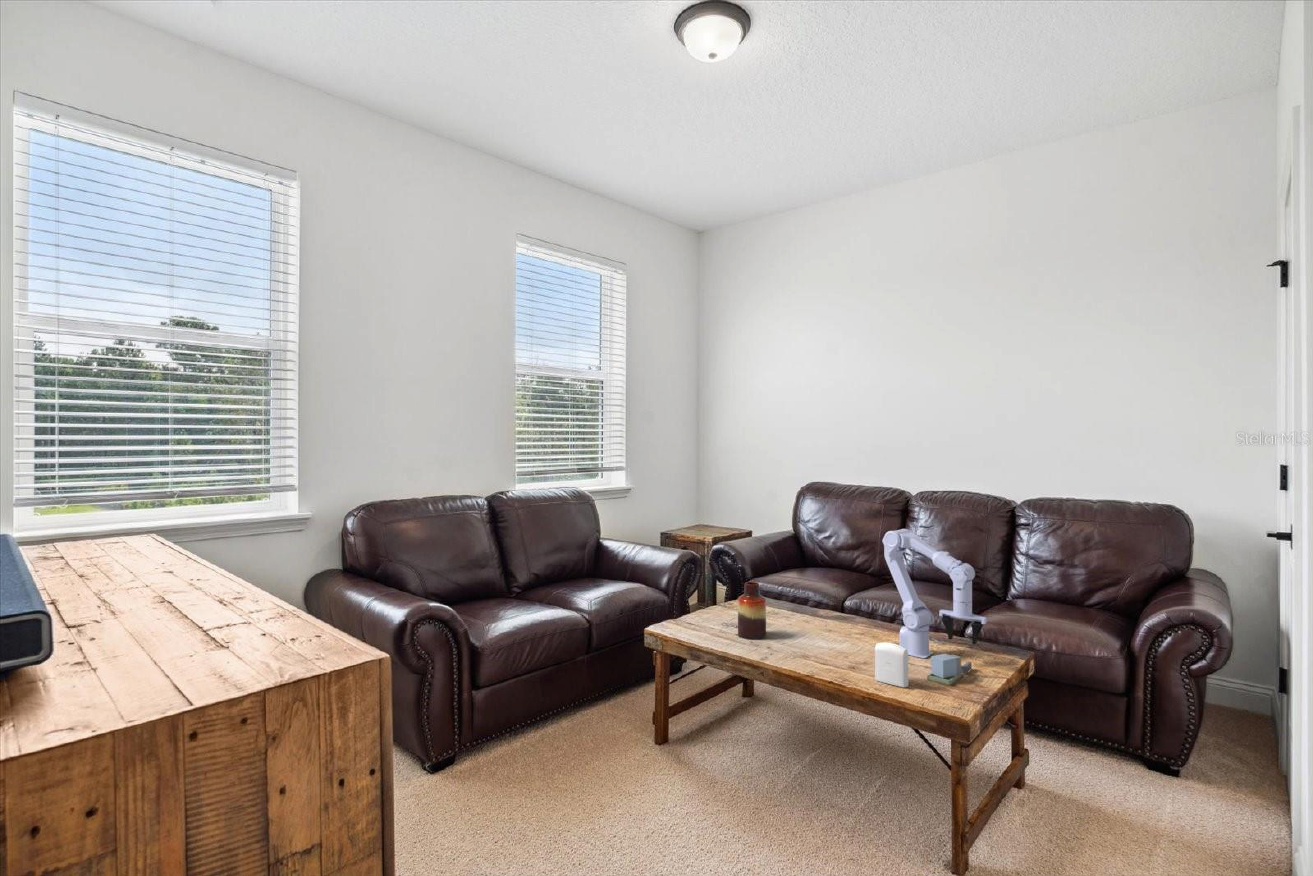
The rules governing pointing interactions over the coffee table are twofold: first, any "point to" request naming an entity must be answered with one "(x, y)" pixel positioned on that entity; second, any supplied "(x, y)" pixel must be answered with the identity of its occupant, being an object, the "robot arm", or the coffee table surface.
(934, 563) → the robot arm
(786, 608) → the coffee table surface
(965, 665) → the bay
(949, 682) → the tray
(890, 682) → the photo printer
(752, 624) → the vase
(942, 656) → the stepped two-tone block
